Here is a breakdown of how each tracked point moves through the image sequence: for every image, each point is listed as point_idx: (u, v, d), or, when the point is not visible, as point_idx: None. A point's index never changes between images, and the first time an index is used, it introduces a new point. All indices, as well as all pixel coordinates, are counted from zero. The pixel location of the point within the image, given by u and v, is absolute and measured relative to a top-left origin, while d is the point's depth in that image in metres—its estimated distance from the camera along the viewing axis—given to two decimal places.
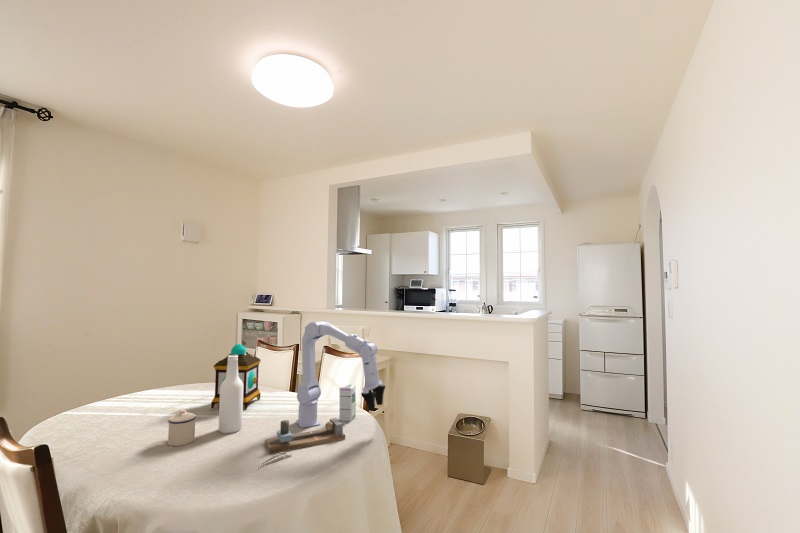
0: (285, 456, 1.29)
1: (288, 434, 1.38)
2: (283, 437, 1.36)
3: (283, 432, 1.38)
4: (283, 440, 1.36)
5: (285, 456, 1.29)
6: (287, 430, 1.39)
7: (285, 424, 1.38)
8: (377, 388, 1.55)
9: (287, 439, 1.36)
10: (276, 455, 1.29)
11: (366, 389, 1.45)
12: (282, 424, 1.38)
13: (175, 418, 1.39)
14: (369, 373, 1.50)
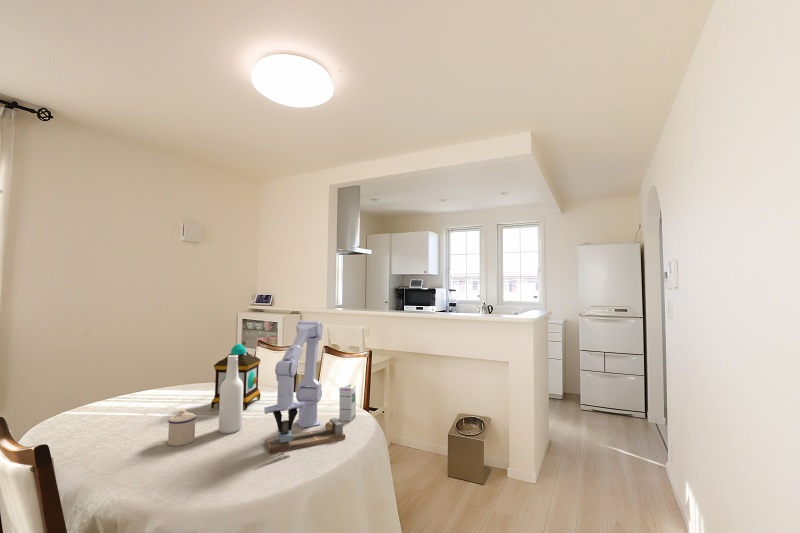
0: (283, 456, 1.28)
1: (288, 434, 1.38)
2: (283, 437, 1.36)
3: (283, 432, 1.38)
4: (283, 440, 1.36)
5: (283, 456, 1.28)
6: (287, 430, 1.39)
7: (285, 424, 1.38)
8: (289, 411, 1.41)
9: (287, 439, 1.36)
10: (274, 456, 1.29)
11: (265, 409, 1.36)
12: (282, 424, 1.38)
13: (175, 418, 1.39)
14: None
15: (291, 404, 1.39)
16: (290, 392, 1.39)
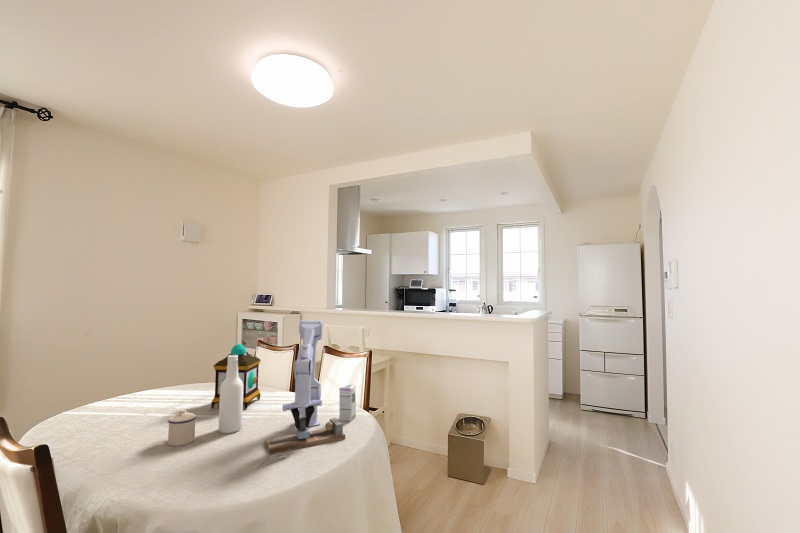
0: (281, 457, 1.28)
1: (306, 431, 1.41)
2: (301, 433, 1.39)
3: (301, 429, 1.41)
4: (301, 437, 1.39)
5: (281, 457, 1.28)
6: (304, 427, 1.42)
7: (303, 421, 1.41)
8: (306, 409, 1.44)
9: (305, 436, 1.39)
10: (272, 456, 1.28)
11: (283, 407, 1.39)
12: (300, 421, 1.41)
13: (175, 418, 1.39)
14: (295, 390, 1.42)
15: (308, 402, 1.42)
16: (309, 389, 1.42)
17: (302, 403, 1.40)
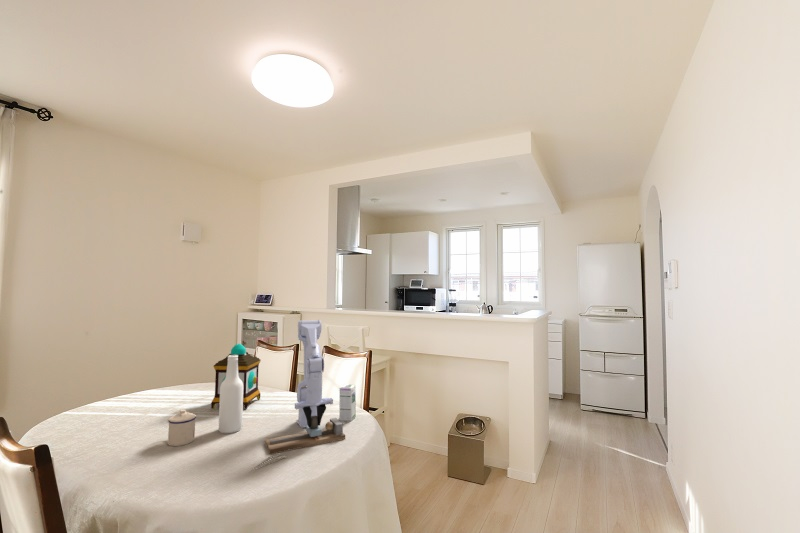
0: (280, 457, 1.28)
1: (317, 429, 1.43)
2: (313, 431, 1.41)
3: (313, 427, 1.43)
4: (313, 434, 1.41)
5: (281, 457, 1.28)
6: (316, 425, 1.44)
7: (315, 419, 1.44)
8: (318, 407, 1.46)
9: (317, 434, 1.42)
10: None
11: (295, 405, 1.41)
12: (311, 419, 1.43)
13: (175, 418, 1.39)
14: (307, 389, 1.44)
15: (320, 400, 1.44)
16: (321, 388, 1.45)
17: (314, 401, 1.43)
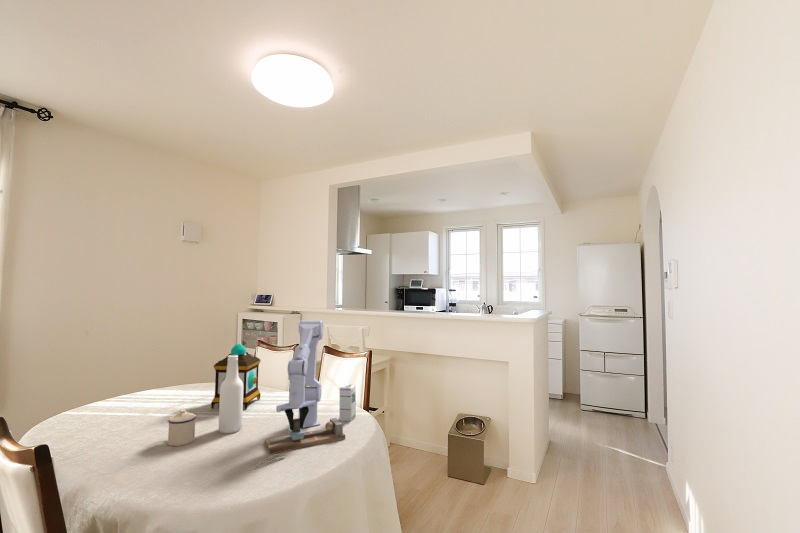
0: (278, 458, 1.27)
1: (300, 432, 1.40)
2: (295, 435, 1.38)
3: (295, 430, 1.40)
4: (295, 438, 1.38)
5: (279, 458, 1.27)
6: (299, 428, 1.41)
7: (297, 422, 1.40)
8: (301, 410, 1.43)
9: (299, 437, 1.38)
10: (269, 457, 1.28)
11: (277, 408, 1.38)
12: (294, 422, 1.40)
13: (175, 418, 1.39)
14: (289, 391, 1.42)
15: (302, 402, 1.41)
16: (302, 390, 1.41)
17: (296, 404, 1.39)
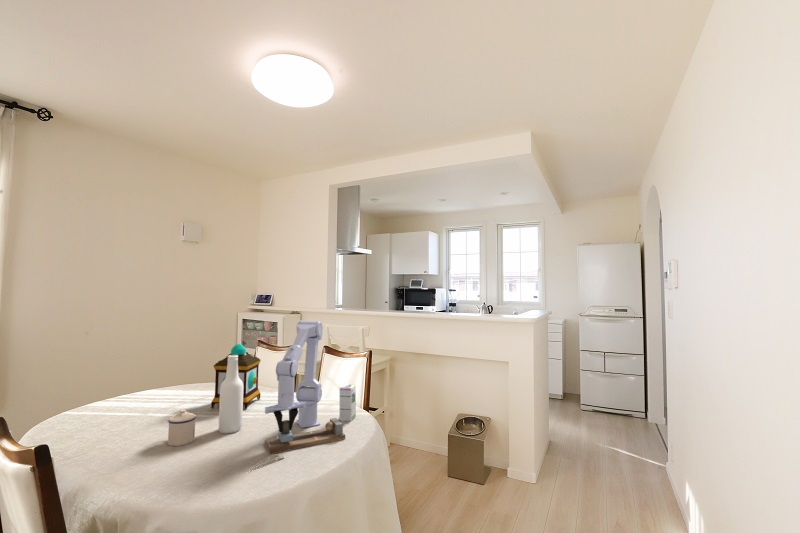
0: (277, 458, 1.27)
1: (289, 434, 1.38)
2: (284, 437, 1.36)
3: (284, 432, 1.38)
4: (284, 440, 1.36)
5: (278, 458, 1.27)
6: (288, 430, 1.39)
7: (286, 424, 1.38)
8: (290, 411, 1.41)
9: (288, 439, 1.36)
10: None
11: (265, 409, 1.36)
12: (283, 424, 1.38)
13: (175, 418, 1.39)
14: None
15: (292, 404, 1.39)
16: (291, 392, 1.39)
17: (285, 405, 1.37)
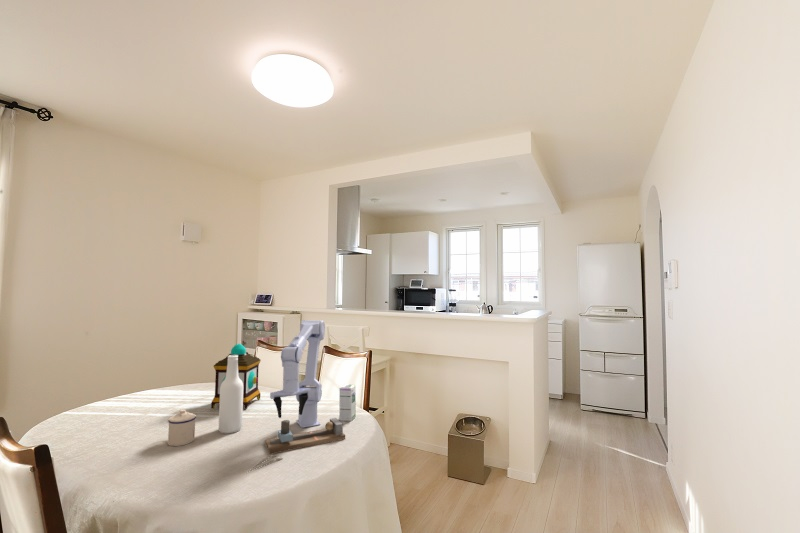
0: (276, 459, 1.26)
1: (289, 434, 1.38)
2: (284, 437, 1.36)
3: (284, 432, 1.38)
4: (284, 440, 1.36)
5: (276, 459, 1.26)
6: (288, 430, 1.39)
7: (286, 424, 1.38)
8: (300, 396, 1.43)
9: (288, 439, 1.36)
10: (266, 458, 1.27)
11: (271, 394, 1.38)
12: (283, 424, 1.38)
13: (175, 418, 1.39)
14: None
15: (296, 389, 1.41)
16: (296, 378, 1.40)
17: (290, 391, 1.39)
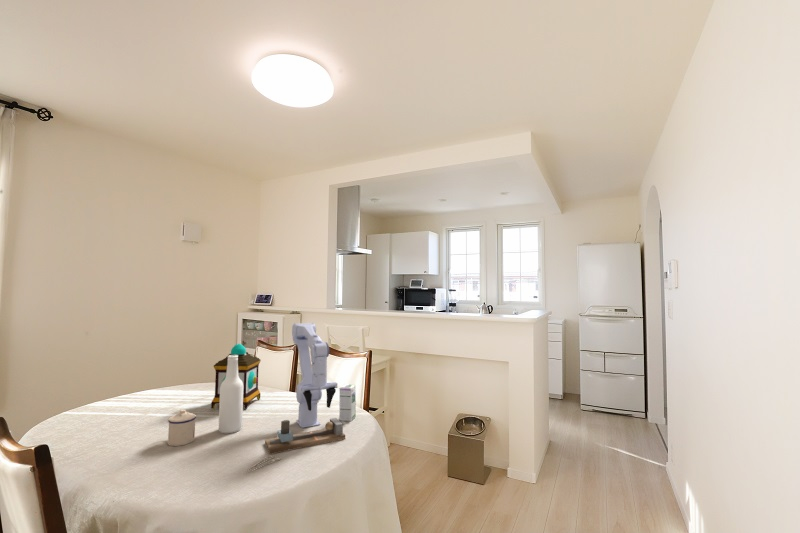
0: None
1: (289, 434, 1.38)
2: (284, 437, 1.36)
3: (284, 432, 1.38)
4: (284, 440, 1.36)
5: (274, 459, 1.26)
6: (288, 430, 1.39)
7: (286, 424, 1.38)
8: (328, 390, 1.52)
9: (288, 439, 1.36)
10: (264, 459, 1.26)
11: (301, 388, 1.46)
12: (283, 424, 1.38)
13: (175, 418, 1.39)
14: (313, 373, 1.49)
15: (325, 383, 1.49)
16: (326, 371, 1.51)
17: (319, 385, 1.47)
